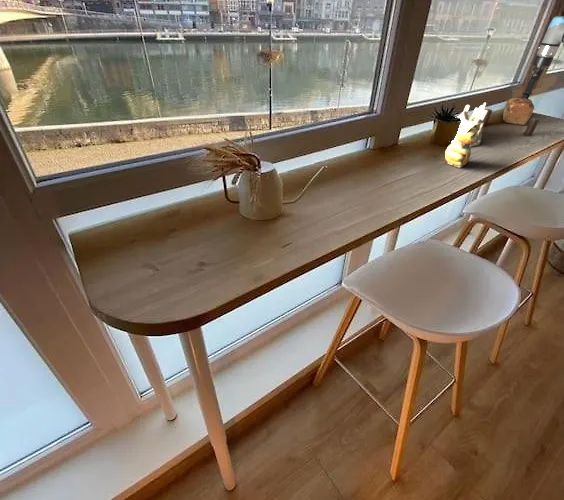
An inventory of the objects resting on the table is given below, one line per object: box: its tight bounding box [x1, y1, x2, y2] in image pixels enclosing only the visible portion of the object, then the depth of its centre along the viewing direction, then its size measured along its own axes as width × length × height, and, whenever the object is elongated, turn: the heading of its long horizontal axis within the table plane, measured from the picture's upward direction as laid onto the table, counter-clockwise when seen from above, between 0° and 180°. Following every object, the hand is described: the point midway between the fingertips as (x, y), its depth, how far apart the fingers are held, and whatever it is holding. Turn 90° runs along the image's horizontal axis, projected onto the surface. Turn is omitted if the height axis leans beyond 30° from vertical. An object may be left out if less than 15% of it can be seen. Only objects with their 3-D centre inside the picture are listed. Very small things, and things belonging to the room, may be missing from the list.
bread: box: [502, 96, 535, 126], centre depth 161 cm, size 19×11×10 cm, turn 151°
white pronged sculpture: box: [450, 102, 488, 148], centre depth 134 cm, size 16×16×15 cm
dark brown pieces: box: [483, 108, 540, 137], centre depth 148 cm, size 22×3×7 cm, turn 51°
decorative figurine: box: [444, 121, 480, 169], centre depth 113 cm, size 10×8×15 cm
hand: (520, 107), depth 170 cm, fingers closed
